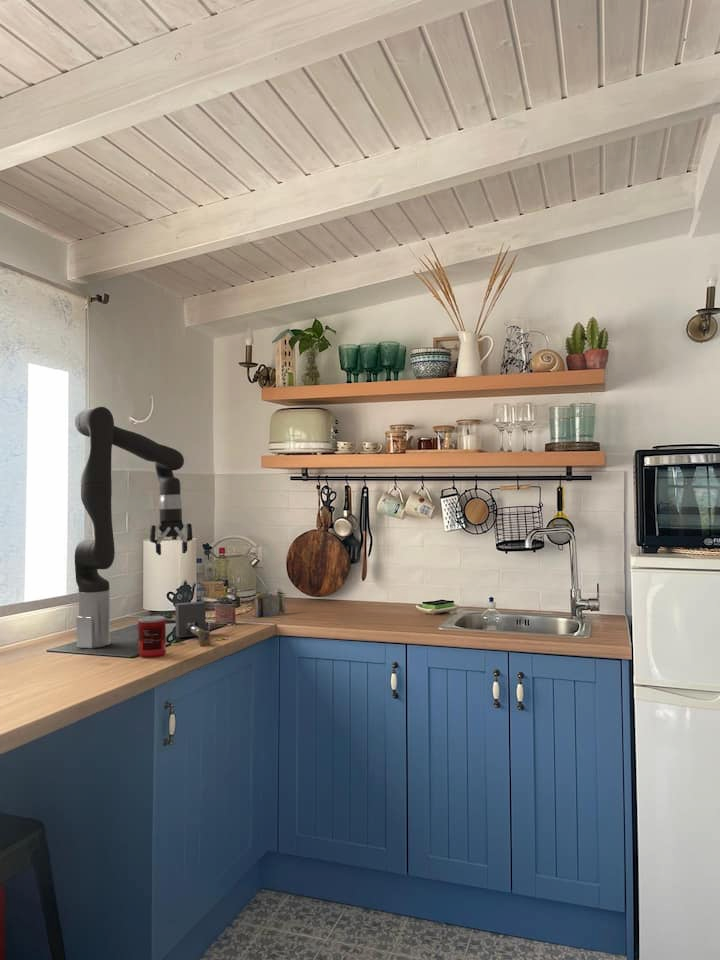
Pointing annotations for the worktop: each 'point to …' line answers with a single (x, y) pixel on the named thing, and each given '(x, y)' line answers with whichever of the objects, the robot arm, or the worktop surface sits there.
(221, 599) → the lighter
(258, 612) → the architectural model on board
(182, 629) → the block
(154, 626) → the canned food
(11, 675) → the worktop surface
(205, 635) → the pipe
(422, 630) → the worktop surface
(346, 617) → the worktop surface
